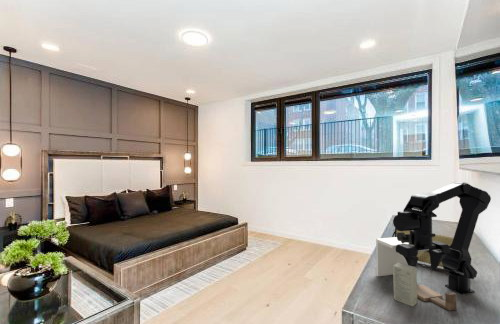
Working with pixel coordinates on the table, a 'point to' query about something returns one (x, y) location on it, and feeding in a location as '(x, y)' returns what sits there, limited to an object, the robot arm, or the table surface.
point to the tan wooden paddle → (437, 297)
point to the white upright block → (388, 255)
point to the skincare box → (405, 283)
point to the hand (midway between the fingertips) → (422, 271)
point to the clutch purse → (424, 255)
